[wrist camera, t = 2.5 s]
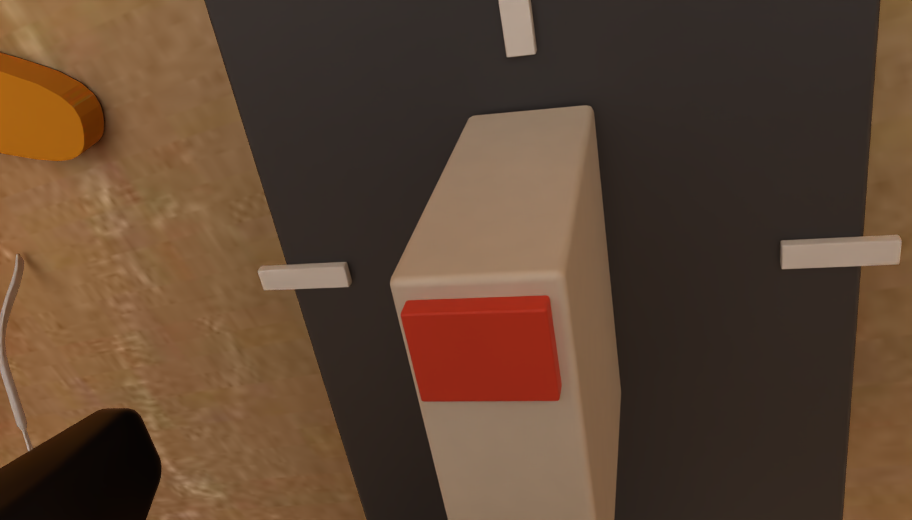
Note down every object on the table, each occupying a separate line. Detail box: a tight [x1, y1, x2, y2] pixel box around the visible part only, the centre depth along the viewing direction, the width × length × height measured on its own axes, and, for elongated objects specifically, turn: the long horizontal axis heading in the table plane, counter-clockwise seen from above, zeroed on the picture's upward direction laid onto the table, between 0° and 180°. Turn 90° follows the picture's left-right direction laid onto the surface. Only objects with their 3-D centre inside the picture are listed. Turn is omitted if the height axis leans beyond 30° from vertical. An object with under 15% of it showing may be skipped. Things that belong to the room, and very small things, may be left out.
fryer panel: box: [204, 0, 902, 520], centre depth 13 cm, size 9×11×3 cm
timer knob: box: [390, 105, 621, 520], centre depth 10 cm, size 5×2×4 cm, turn 10°
